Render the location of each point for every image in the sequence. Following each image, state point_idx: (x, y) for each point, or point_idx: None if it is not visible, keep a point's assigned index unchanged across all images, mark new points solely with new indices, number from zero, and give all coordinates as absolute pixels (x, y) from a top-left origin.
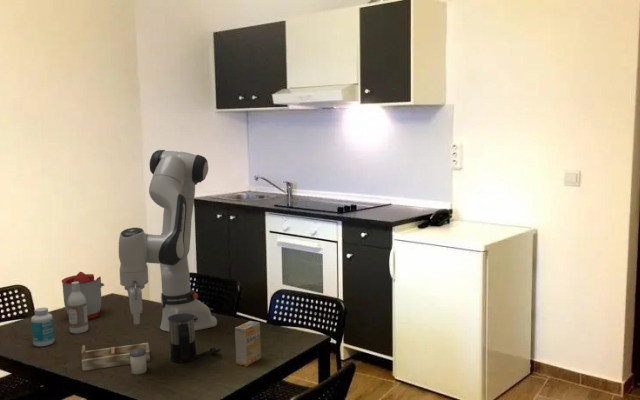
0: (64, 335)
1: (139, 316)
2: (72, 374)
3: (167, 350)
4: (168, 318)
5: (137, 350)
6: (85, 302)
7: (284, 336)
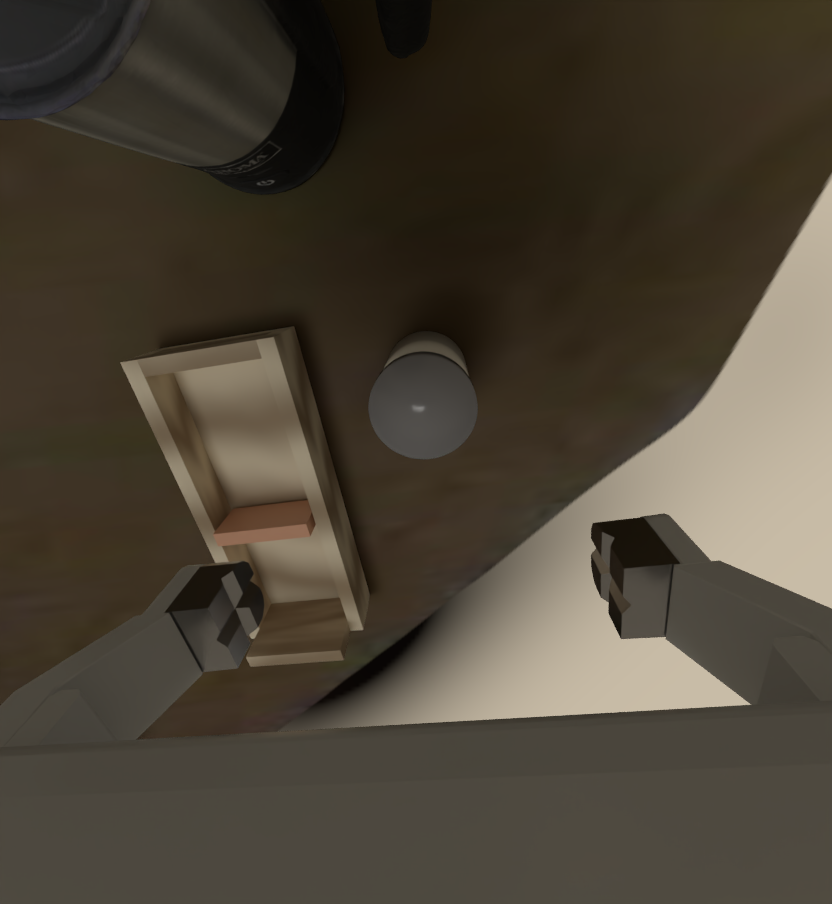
0: (5, 688)
1: (791, 594)
2: (398, 619)
3: (125, 230)
4: (15, 106)
5: (411, 413)
6: None
7: None
